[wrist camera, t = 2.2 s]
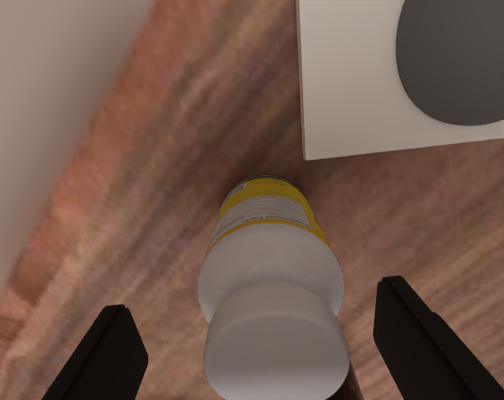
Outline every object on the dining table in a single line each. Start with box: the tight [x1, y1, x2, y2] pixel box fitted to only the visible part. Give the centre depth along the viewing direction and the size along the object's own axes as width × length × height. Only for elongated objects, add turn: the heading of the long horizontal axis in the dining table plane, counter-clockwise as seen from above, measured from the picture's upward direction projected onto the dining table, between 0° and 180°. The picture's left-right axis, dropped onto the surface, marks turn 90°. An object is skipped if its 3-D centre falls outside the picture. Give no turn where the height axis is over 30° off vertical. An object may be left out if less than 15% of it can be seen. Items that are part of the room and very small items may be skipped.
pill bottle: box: [198, 175, 349, 400], centre depth 13 cm, size 6×6×12 cm
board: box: [296, 0, 504, 161], centre depth 14 cm, size 20×12×1 cm, turn 97°
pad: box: [396, 0, 504, 126], centre depth 13 cm, size 10×10×1 cm
